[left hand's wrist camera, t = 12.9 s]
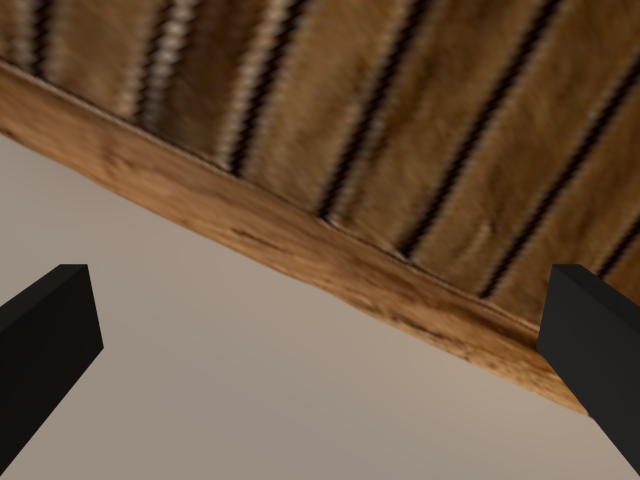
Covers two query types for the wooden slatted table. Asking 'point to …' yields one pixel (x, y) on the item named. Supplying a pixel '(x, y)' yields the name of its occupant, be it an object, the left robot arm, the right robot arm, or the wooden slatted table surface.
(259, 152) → the wooden slatted table surface
